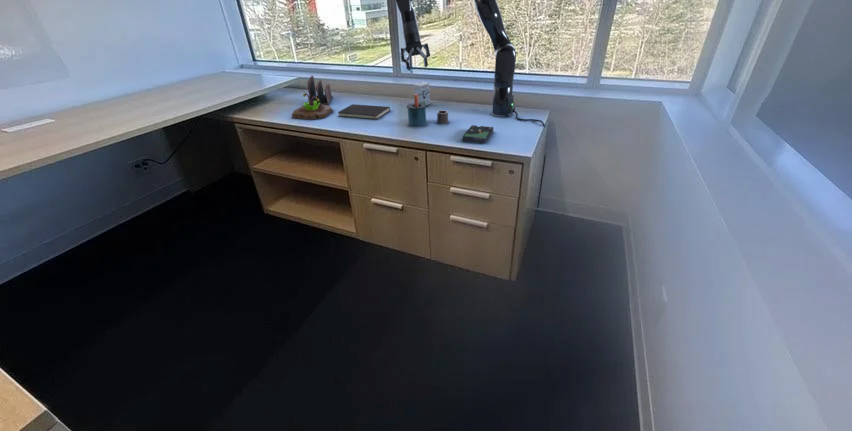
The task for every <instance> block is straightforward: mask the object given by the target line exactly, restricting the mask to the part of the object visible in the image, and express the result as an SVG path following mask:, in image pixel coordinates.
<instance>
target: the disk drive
mask: <svg viewBox="0 0 852 431" xmlns="http://www.w3.org/2000/svg"><path fill="white" fill-rule="evenodd" d="M494 129H495V128H494V127H493V126H484V125H481V126H478V125H475V124H474V125H473V124H472V125H470V127H469V128H468V129H467V131H465V133H463V135H462V138H461V139H462V142H466V143H472V144H473V143H474V144H475V143H476V144H486V143H487V142H488V141H489V139H490V138H491V136H492V135H493V133H494Z"/></svg>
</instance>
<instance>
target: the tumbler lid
mask: <svg viewBox="0 0 852 431" xmlns="http://www.w3.org/2000/svg"><path fill="white" fill-rule="evenodd" d="M418 105H420V106H419V107H413V106H415V102H413V103H408V104H406V108H407V109H408V108H409V109H423V108H425V107H426V108H427V105H426V104H424V103H418Z"/></svg>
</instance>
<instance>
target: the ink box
mask: <svg viewBox="0 0 852 431" xmlns="http://www.w3.org/2000/svg"><path fill="white" fill-rule="evenodd" d="M413 85H414V86H413V88H414V89H413V90H414V91H413V92H414V94H418V103H424V104H426V106H428V105H431V98H430V97H431V95H430V93H431V92H430V82H426V81H421V82H418V83H415V84H413Z"/></svg>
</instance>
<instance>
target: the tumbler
mask: <svg viewBox="0 0 852 431" xmlns="http://www.w3.org/2000/svg"><path fill="white" fill-rule="evenodd" d="M419 106H420V105H419ZM413 107H415V106H413ZM407 118H408V119H407V120H408V126H409V127H411V128H422V127H425V126H426V125H427V106H426V107H425V108H423V109H409V108H407Z"/></svg>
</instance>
